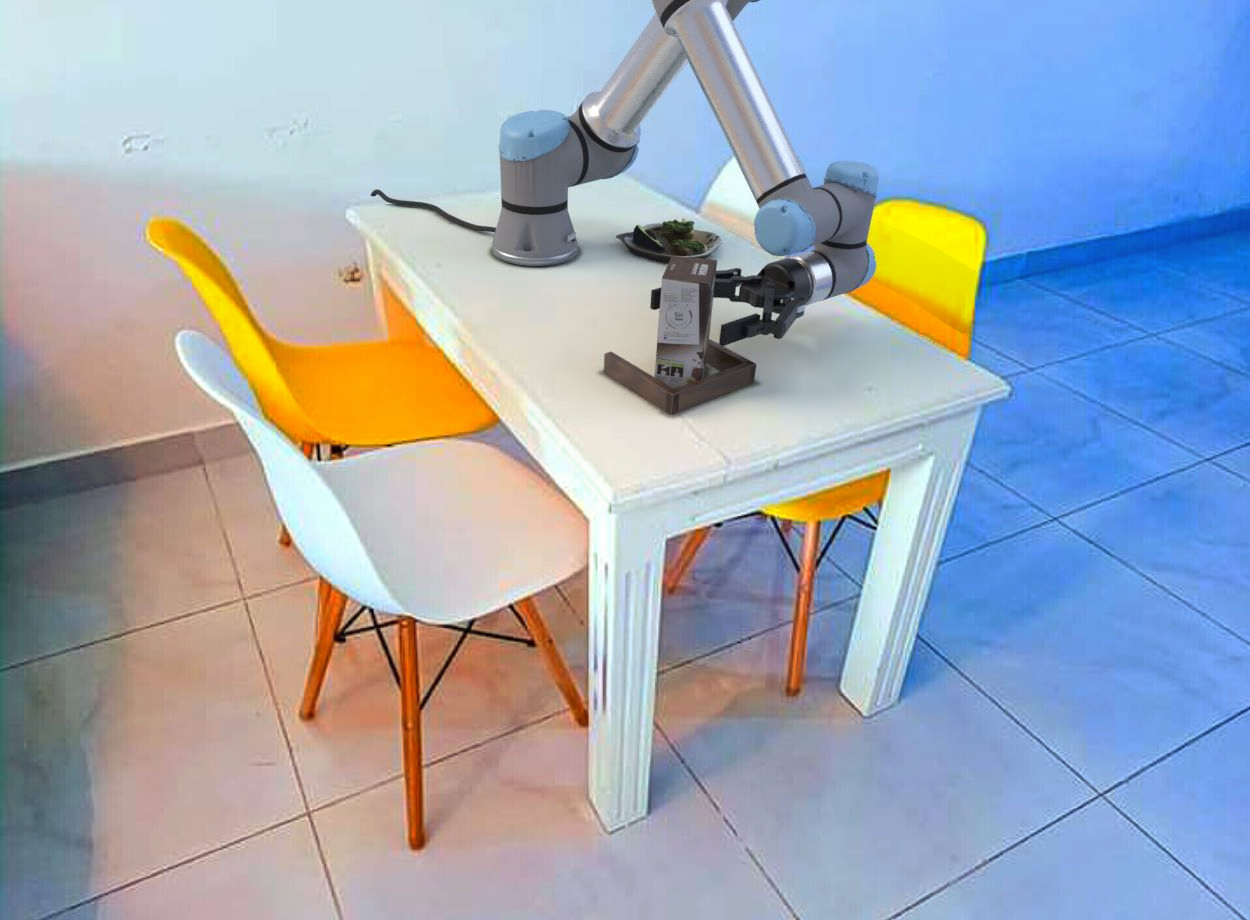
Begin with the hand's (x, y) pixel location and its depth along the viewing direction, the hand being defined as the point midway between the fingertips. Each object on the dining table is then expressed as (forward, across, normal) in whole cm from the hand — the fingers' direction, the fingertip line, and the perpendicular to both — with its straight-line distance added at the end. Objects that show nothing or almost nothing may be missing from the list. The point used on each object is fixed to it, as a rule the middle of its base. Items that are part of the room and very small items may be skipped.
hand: (685, 317), depth 121 cm
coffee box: (0, 0, -10) cm, 10 cm away
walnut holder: (0, +1, -9) cm, 9 cm away
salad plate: (-33, +39, -10) cm, 53 cm away
